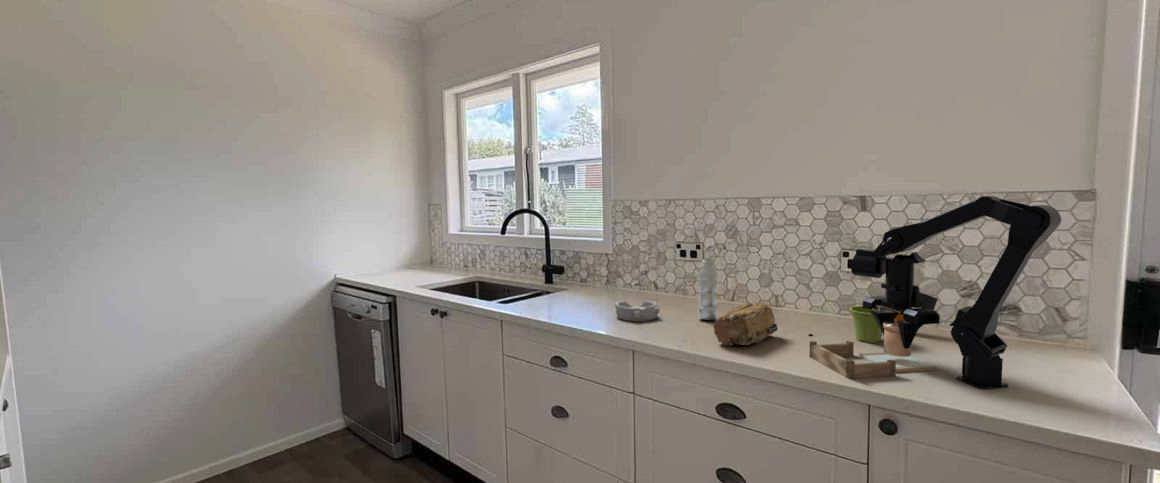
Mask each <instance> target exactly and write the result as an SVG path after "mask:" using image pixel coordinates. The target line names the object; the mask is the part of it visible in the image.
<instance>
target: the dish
mask: <svg viewBox="0 0 1160 483" xmlns="http://www.w3.org/2000/svg"><path fill="white" fill-rule="evenodd" d="M614 306H615V307H614V308H615V311H616V312H615V314H616V317H617V318H618V319H620V320H623V321H631V322H646V321H652V320H655V319H657V318H658V314H660V311H661V310H660V308H659V307H658V305H657V302H656V301H655V302H654V301H650V300H644V301H643V302H642V304H641V305H638V306H633V305H630V303H628V302H627V301H626V300H621V301H618V302H616V303H615V305H614Z"/></svg>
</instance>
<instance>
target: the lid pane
mask: <svg viewBox="0 0 1160 483" xmlns="http://www.w3.org/2000/svg"><path fill="white" fill-rule="evenodd" d="M858 356H859V358H861V359H864V360H865V361H867V362H869V363H875V362H887V360H894V361H896V373H908V372H923V371H925V372H926V371H938V369H939V368H938V366H937V365H935V364H930V363H928V362H926V361H923V360H921V359H919V358H916V357H914V356H907V357H900V356H893V355H889V354H886V353H884V351H881V352H880V351H879V352H859V354H858Z"/></svg>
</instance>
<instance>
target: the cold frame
mask: <svg viewBox="0 0 1160 483" xmlns="http://www.w3.org/2000/svg"><path fill="white" fill-rule="evenodd" d="M852 356H854V342H853V341H851V340H850V341H848V340H847V341H845V343H844V342H842V343H840V342H839V343H826V344H824V343H822V344H818V342H817V341H815V340H810V341H809V357H810V358H811V359H814V360H815V361H817V362H818V363H820V364H822V365H824V366H826V367H828V369H831V370H832V371H834V372H836V373H838V374H840V375H841V376H843V377H844V378H846V379H849V380H854V379H869V378H882V377H881V376H886V377H896V373H897V372H896V361H894V360H887V362H875V363H872V362H863V363H861V362H860V363H856V361H855V360H854V359H846V358H844V357H852Z"/></svg>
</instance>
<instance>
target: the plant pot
mask: <svg viewBox="0 0 1160 483" xmlns="http://www.w3.org/2000/svg"><path fill="white" fill-rule="evenodd" d="M849 311H851V316H852V319H853V326H854V335H855V339H856V340H857V341H863V342H864V343H871V344H875V343H876V344H877V343H879V342H881V341H882V336H883V333H882V331H881V329H880V327H879V325H878V323H877V322H876V320H875V318H874V316H873V315H872V314H871V313H870V311H873V308H872V310H869V309H865V308H863V305H854V306H851V307H850V308H849Z"/></svg>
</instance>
